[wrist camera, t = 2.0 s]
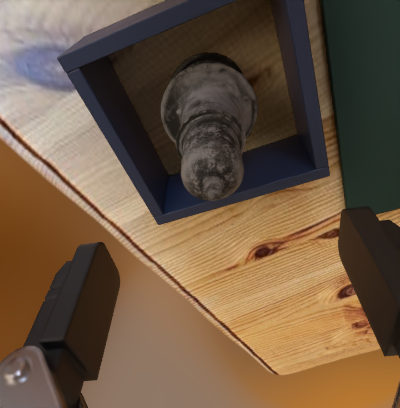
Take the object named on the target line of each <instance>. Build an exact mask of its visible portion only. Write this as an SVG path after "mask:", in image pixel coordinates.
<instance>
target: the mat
mask: <svg viewBox="0 0 400 408" xmlns="http://www.w3.org/2000/svg"><path fill="white" fill-rule="evenodd" d="M320 4H321V12H322V20H323V28H324V36H325V44H326V52H327V61H328V69H329V77H330V85H331V93H332V101H333V109H334V117H335V125H336V133H337V141H338V149H339V157H340V165H341V173H342V181H343V189H344V197H345V205H346V209H349V208H356V207H363V206H369V207H370V208H371V209H372V210H373V212H374V213H375V215H376V214H380V213H384V212H388V211H392V210H396V209H399V208H400V0H320Z"/></svg>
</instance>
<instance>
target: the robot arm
mask: <svg viewBox="0 0 400 408" xmlns="http://www.w3.org/2000/svg"><path fill="white" fill-rule="evenodd" d="M338 249H339V255H340V258H341V261H342V264H343V266H344V268H345V270H346V272H347V275H348V277H349V279H350V281H351V283H352V286H353V288H354V290H355V292H356V294H357V297H358V299H359V301H360V303H361V305H362V308H363V310H364V312H365V314H366V316H367V319H368V321H369V323H370V325H371V327H372V330H373V332H374V334H375V336H376V339H377V341H378V343H379V345H380V347H381V349H382V352H383V354H384V356H394V355H398V356H399V358H400V227H399V226H398V225H396V224H395V223H393V222H392V221H390V220H384V221H379V220H378V218H377V217H376V215H375V213H374V212H373V210H372V209H371V208H370V207H369V206H363V207H356V208H349V209H343V210H342V212H341V219H340V229H339V239H338ZM119 288H120V276H119V272H118V269H117V267H116V265H115V263H114V261H113V259H112V258H111V256H110V254H109V252H108V250H107V248H106V246H105V244H104V243H103V242H97V243H90V244H83V245H80V246H79V247H78V248H77V250H76V253H75V255H74V257H73V260H72V261H68V262H66V263H65V264H64V265H63V267H62V268H61V269H60V270H59V271H58V272H57V273H56V275H55V277H54V280H53V282H52V284H51V286H50V290H49V291H48V293H47V295H46V297H45V301H44V302H43V304H42V306H41V308H40V311H39V313H38V315H37V317H36V320H35V322H34V324H33V326H32V329H31V331H30V333H29V335H28V337H27V340H26V342H25V344H24V346H23V347H21V348H19V349H17V350H15V351H13V352H12V353H10V354H9V355H8V356H7V357H5V358H4V359H3V360H2V362H1V363H0V408H88V406H87V404H86V402H85V400H84V397H83V395H82V393H81V389H82V386H83V382H84V381H90V380H97V378H98V374H99V370H100V366H101V362H102V358H103V354H104V349H105V345H106V341H107V337H108V333H109V329H110V325H111V320H112V316H113V312H114V308H115V304H116V300H117V296H118V292H119ZM392 408H400V381H399V384H398V388H397V391H396V395H395V398H394V402H393V406H392Z"/></svg>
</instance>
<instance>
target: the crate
mask: <svg viewBox="0 0 400 408" xmlns="http://www.w3.org/2000/svg"><path fill="white" fill-rule="evenodd" d="M234 1H236V0H165V1H163V2H161V3H159V4H156V5H154V6H152V7H150V8H147V9H145V10H143V11H141V12H138V13H136V14H134V15H132V16H129V17H127V18H125V19H123V20H121V21H118V22H116V23H114V24H112V25H109V26H107V27H105V28H103V29H100V30H98V31H96V32H94V33H92V34H89V35H87V36H85V37H83V38H82V39H81V40H80V41H78V42H77V43H76V44H74V45H73V46H72V47H70V48H69V49H68V50H67V51H65V52H64V53H63V54H61V55H60V56H59V57H58V58H57V59H58V61H59V62H60V64H61V66H62V67H63V69H64V71H65V72H66V73H67V75H68V77H69V78H70V80H71V82H72V83H73V85H74V87H75V88H76V90H77V91H78V93H79V95H80V96H81V98H82V100H83V101H84V103H85V105H86V106H87V108H88V110H89V111H90V113H91V115H92V116H93V118H94V120H95V121H96V123H97V125H98V126H99V128H100V129H101V131H102V133H103V134H104V136H105V138H106V139H107V141H108V143H109V144H110V146H111V148H112V149H113V151H114V153H115V154H116V156H117V158H118V159H119V161H120V163H121V164H122V166H123V167H124V169H125V171H126V172H127V174H128V176H129V177H130V179H131V181H132V182H133V184H134V186H135V187H136V189H137V191H138V192H139V194H140V196H141V197H142V199H143V201H144V202H145V204H146V205H147V207H148V209H149V210H150V212H151V214H152V215H153V217H154V219H155V220H156V222H157V224H158V225H161V224H164V223H168V222H171V221H175V220H178V219H182V218H185V217H189V216H192V215H195V214H199V213H202V212H206V211H209V210H213V209H216V208H220V207H223V206H227V205H230V204H234V203H237V202H241V201H244V200H248V199H251V198H255V197H258V196H262V195H265V194H269V193H272V192H275V191H279V190H282V189H286V188H289V187H293V186H296V185H300V184H303V183H307V182H310V181H314V180H317V179H321V178H324V177H328V176H330V172H329V166H328V159H327V152H326V146H325V139H324V132H323V126H322V119H321V112H320V106H319V99H318V93H317V86H316V79H315V73H314V66H313V59H312V53H311V46H310V40H309V33H308V26H307V20H306V13H305V6H304V0H270V3H271V8H272V13H273V17H274V22H275V27H276V32H277V37H278V42H279V47H280V52H281V56H282V61H283V66H284V71H285V76H286V81H287V86H288V91H289V95H290V100H291V105H292V110H293V115H294V120H295V125H296V130H297V134H298V135H295V136H292V137H289V138H286V139H283V140H280V141H277V142H274V143H271V144H267V145H264V146H261V147H258V148H255V149H252V150H249V151H246V152H243V154H242V160H243V166H244V174H243V179H242V182H241V184H240V186H239V187H238V189H237V190H236V191H235V192H234V193H232V194H231V195H230V196H228V197H226V198H223V199H221V200H216V201H206V200H202V199H199V198H197V197H195V196H193V195H192V194H191V193H189V192H188V191H187V189H186V188H185V186H184V184H183V181H182V177H181V172H180V173H177V174H174V175H171V176H168V173H167V172H166V170H165V168H164V166H163V164H162V162H161V160H160V158H159V156H158V154H157V152H156V150H155V148H154V146H153V144H152V142H151V140H150V138H149V137H148V135H147V133H146V131H145V129H144V127H143V125H142V123H141V121H140V119H139V117H138V115H137V113H136V111H135V109H134V107H133V105H132V103H131V102H130V100H129V98H128V96H127V94H126V92H125V90H124V88H123V86H122V84H121V82H120V80H119V78H118V76H117V74H116V72H115V70H114V69H113V67H112V65H111V63H110V61H109V59H108V57H107V55H110V54H112V53H114V52H117V51H119V50H121V49H124V48H126V47H129V46H131V45H133V44H136V43H138V42H140V41H143V40H145V39H147V38H150V37H152V36H154V35H157V34H159V33H161V32H164V31H166V30H168V29H171V28H173V27H175V26H178V25H180V24H182V23H185V22H187V21H190V20H192V19H194V18H197V17H199V16H201V15H204V14H206V13H208V12H211V11H213V10H215V9H218V8H220V7H222V6H225V5H227V4H229V3H232V2H234Z"/></svg>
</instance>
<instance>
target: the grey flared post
mask: <svg viewBox="0 0 400 408" xmlns="http://www.w3.org/2000/svg"><path fill="white" fill-rule="evenodd" d="M257 112H258V107H257V98H256V95H255V93H254V90H253V88H252V86H251V84H250V83H249V82H248V81H247V79H246V78H245V77H244V76H243V74H242V72H241V70H240V69H239V68H238V66H237V65H236V64H235V63H234V62H233V61H231V60H230V59H229V58H227V57H225V56H223V55H220V54H217V53H201V54H197V55H194V56H192V57H190V58H188V59H186V60H185V61H184V62H183V63H182V64H181V65H180V66H179V67H178V68H177V70H176V71H175V73H174V75H173V77H172V80H171V81H170V83H169V85H168V86H167V88H166V90H165V91H164V94H163V98H162V102H161V119H162V123H163V126H164V129H165V131H166V132H167V134H168V136H169V137H170V139H171V140H172V141H173V142H174V143H175V144H176V149H177V152H178V155H179V157H180V158H181V160H182V164H181V177H182V181H183V184H184V186H185V188H186V189H187V191H188V192H189V193H191V194H192V195H193V196H195V197H197V198H199V199H202V200H206V201H216V200H221V199H223V198H226V197H228V196H230V195H231V194H232V193H234V192H235V191H236V190H237V189H238V187H239V186H240V184H241V182H242V179H243V174H244V166H243V160H242V154H243V151H244V149H245V144H246V139H247V137H248V136H249V135H250V134H251V132H252V130H253V127H254V125H255V123H256V118H257Z"/></svg>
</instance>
